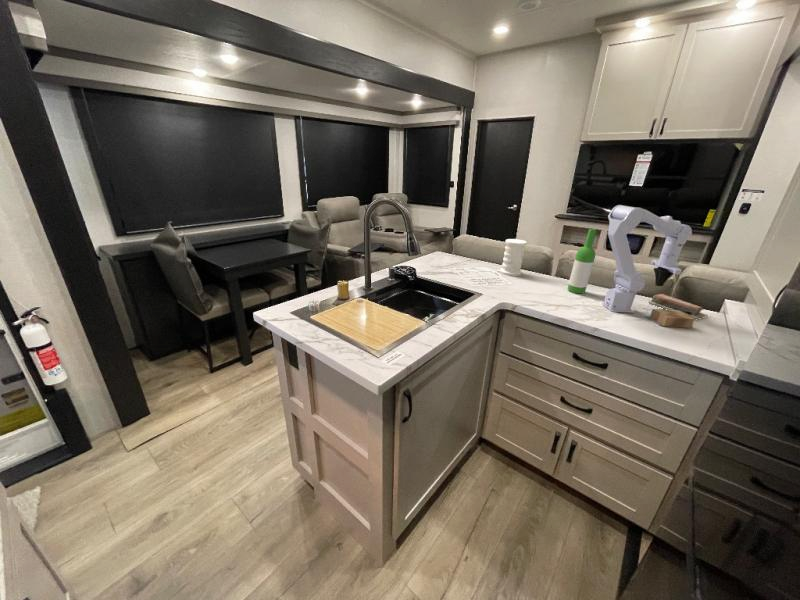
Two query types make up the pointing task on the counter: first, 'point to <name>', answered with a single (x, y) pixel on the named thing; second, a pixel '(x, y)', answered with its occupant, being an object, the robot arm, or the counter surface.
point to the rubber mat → (654, 320)
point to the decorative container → (513, 257)
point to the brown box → (672, 318)
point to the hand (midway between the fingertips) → (658, 285)
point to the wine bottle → (582, 265)
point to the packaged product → (677, 305)
